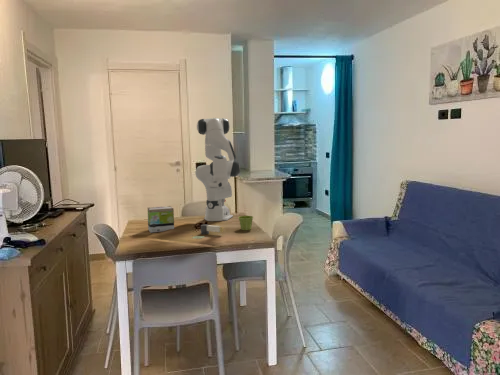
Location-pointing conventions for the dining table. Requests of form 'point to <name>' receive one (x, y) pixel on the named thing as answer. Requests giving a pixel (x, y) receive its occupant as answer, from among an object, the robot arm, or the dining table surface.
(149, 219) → the tea box
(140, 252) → the dining table surface
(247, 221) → the plant pot
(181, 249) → the dining table surface
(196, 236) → the dial
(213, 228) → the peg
